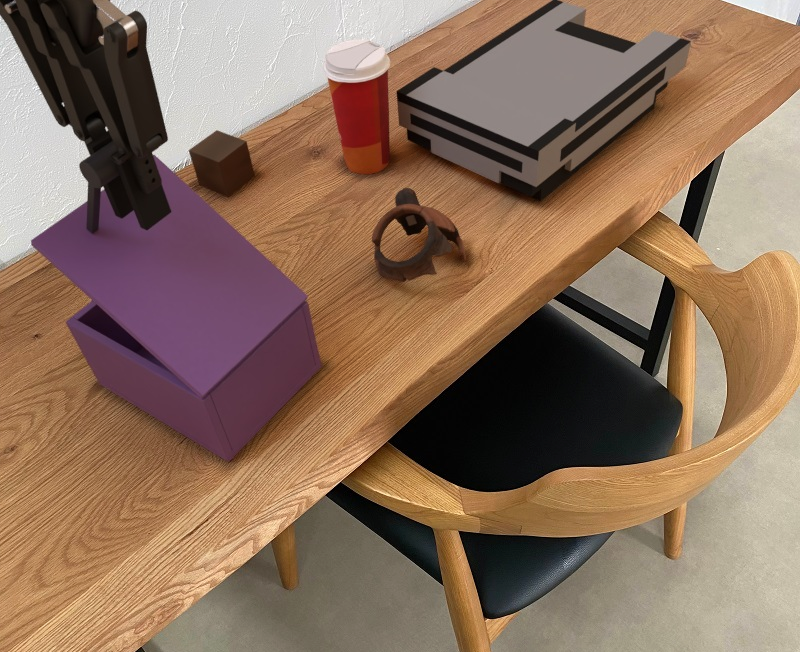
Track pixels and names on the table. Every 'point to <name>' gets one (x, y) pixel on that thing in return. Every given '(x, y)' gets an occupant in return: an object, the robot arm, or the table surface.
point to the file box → (226, 403)
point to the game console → (539, 98)
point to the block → (222, 163)
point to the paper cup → (360, 102)
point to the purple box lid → (172, 276)
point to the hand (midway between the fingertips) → (143, 213)
